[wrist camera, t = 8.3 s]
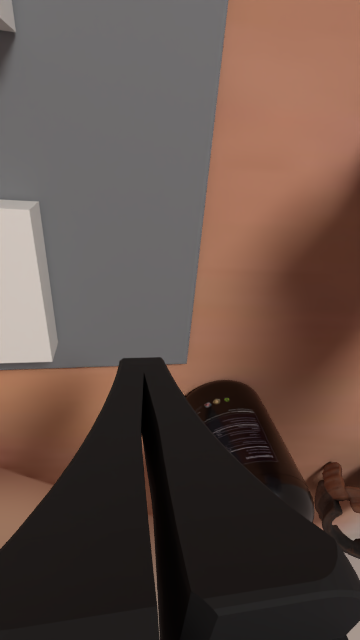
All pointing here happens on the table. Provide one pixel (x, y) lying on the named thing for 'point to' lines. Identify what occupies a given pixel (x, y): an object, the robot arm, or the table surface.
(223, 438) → the supplement bottle
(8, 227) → the tile
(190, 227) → the mat
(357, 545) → the brown curved piece
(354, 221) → the table surface
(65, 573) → the robot arm
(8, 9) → the tile
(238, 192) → the table surface
